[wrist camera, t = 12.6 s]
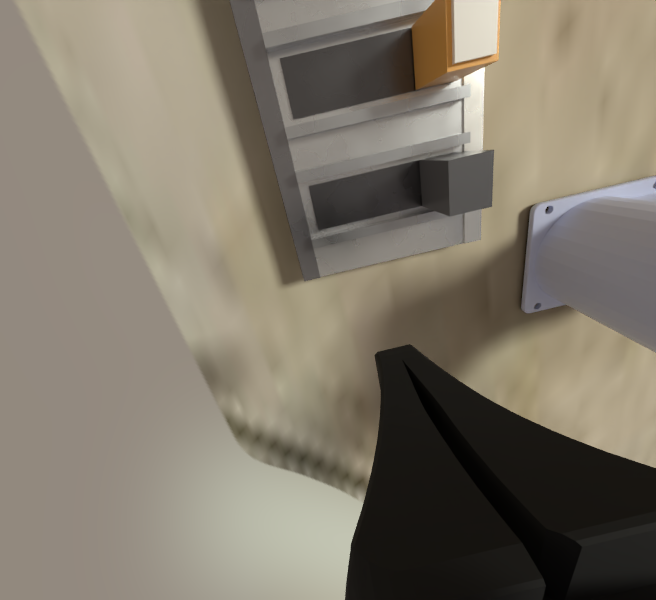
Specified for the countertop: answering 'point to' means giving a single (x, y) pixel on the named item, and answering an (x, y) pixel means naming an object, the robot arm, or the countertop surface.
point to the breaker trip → (455, 40)
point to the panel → (355, 127)
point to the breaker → (457, 181)
